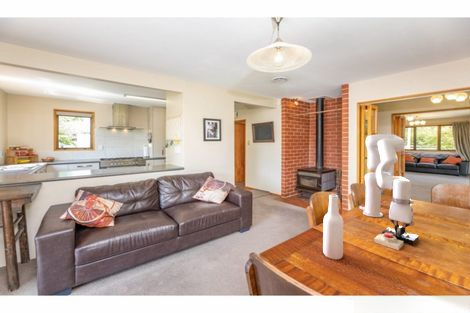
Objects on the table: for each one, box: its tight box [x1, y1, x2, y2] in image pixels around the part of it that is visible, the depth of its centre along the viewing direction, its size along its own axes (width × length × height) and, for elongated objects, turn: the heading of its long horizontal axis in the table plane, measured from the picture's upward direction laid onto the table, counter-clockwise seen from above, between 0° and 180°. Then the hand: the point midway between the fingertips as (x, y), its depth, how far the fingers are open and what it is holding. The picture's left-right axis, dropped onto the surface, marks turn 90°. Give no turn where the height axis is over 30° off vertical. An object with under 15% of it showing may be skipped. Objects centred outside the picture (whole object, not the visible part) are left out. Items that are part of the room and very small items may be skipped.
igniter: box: [373, 233, 404, 251], centre depth 110 cm, size 11×8×4 cm
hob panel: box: [381, 226, 419, 247], centre depth 115 cm, size 14×10×3 cm
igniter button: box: [384, 233, 393, 238], centre depth 110 cm, size 4×4×2 cm
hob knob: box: [397, 225, 402, 235], centre depth 115 cm, size 5×1×4 cm, turn 127°
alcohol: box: [322, 193, 345, 260], centre depth 99 cm, size 9×9×30 cm
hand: (399, 232), depth 115 cm, fingers closed
